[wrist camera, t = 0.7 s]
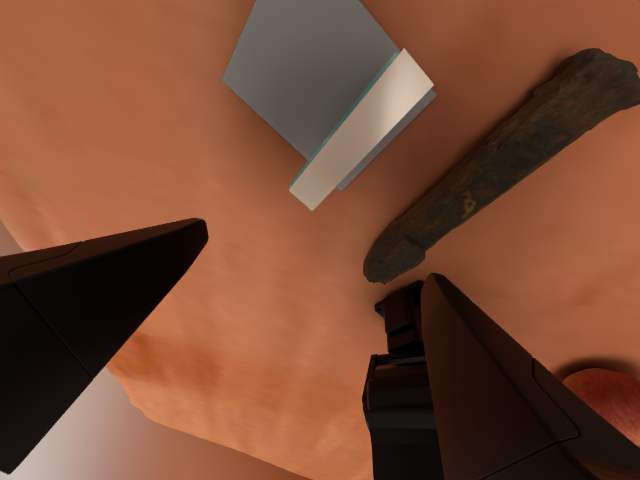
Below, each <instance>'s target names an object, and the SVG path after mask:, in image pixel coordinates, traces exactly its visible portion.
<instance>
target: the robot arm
mask: <svg viewBox="0 0 640 480" xmlns="http://www.w3.org/2000/svg"><path fill="white" fill-rule="evenodd" d="M207 242H208V231H207V225H206V222H205V221H204V220H203V219H198V218H190V219H186V220H181V221H176V222H171V223H167V224H162V225H157V226H152V227H147V228H143V229H138V230H133V231H128V232H124V233H119V234H114V235H109V236H104V237H100V238H95V239H90V240H85V241H84V242H82V241H80V242H76V243H71V244H66V245H61V246H56V247H51V248H46V249H41V250H35V251H30V252H24V253H19V254H13V255H8V256H2V257H0V471H1V472H3V473H6V474H11V473H12V472H13V471H14V470H15V469H16V468H17V467H18V466H19V465H20V464H21V462H22V461H23V460H24V459H25V458H26V457H27V456H28V454H29V453H30V452H31V451H32V450H33V449H34V448H35V446H36V445H37V444H38V443H39V442H40V441H41V439H42V438H43V437H44V436H45V435H46V434H47V433H48V431H49V430H50V429H51V428H52V426H54V424H55V423H56V422H57V421H58V420H59V419H60V418H61V416H62V415H63V414H64V413H65V412H66V410H67V409H68V408H69V407H70V406H71V405H72V404H73V403H74V401H75V400H76V399H77V398H78V397H79V396H80V394H81V393H82V392H83V391H84V390H85V388H86V387H87V386H88V385H89V384H90V383H91V382H92V381H93V378H95V377H96V376H97V374H98V373H99V372H100V371H101V370H102V369H103V368H104V366H105V365H106V364H107V363H108V362H109V361H110V360H111V358H112V357H113V356H114V355H115V354H116V353H117V351H118V350H119V349H120V348H121V347H122V346H123V345H124V343H125V342H126V341H127V340H128V339H129V338H130V336H131V335H132V334H133V333H134V332H135V331H136V330H137V328H138V327H139V326H140V325H141V324H142V323H143V321H144V320H145V319H146V318H147V317H148V316H149V315H150V313H151V312H152V311H153V310H154V309H155V308H156V306H157V305H158V304H159V303H160V302H161V301H162V300H163V298H164V297H165V296H166V295H167V294H168V293H169V292H170V290H171V289H172V288H173V287H174V286H175V285H176V283H177V282H178V281H179V280H180V279H181V278H182V277H183V275H184V274H185V273H186V272H187V270H188V269H189V268H190V266H191V265H192V264H193V262H194V261H195V259H196V258H197V256H198V255H199V254H200V252H201V251H202V249H203V248H204V246H205V245H206V244H207ZM375 311H376V312H377V313H378V314H380V315H381V316H382V317H383V318H385V332H386V333H387V345H388V353H389V354H382V355H377V354H374V355H371V359H370V363H369V367H368V372H367V377H366V382H365V387H364V391H363V396H362V402H363V412H364V415H365V419H366V423H367V426H368V429H369V431H370V435H371V443H372V457H373V477H374V480H640V448H639V447H638V446H637V445H636V444H634V443H633V442H632V441H631V440H630V439H628V438H627V437H626V436H625V435H624V434H622V433H621V432H620V431H619V430H618V429H616V428H615V427H614V426H613V425H612V424H610V423H609V422H608V421H607V420H606V419H604V418H603V417H602V416H601V415H600V414H598V413H597V412H596V411H595V410H594V409H592V408H591V407H590V406H589V405H588V404H586V403H585V402H584V401H583V400H582V399H581V398H579V397H578V396H577V395H576V394H575V393H573V392H572V391H571V390H570V389H569V388H568V387H566V386H565V385H564V384H563V383H562V382H561V381H560V380H559V379H557V378H556V377H555V376H554V375H553V374H552V373H551V372H550V371H548V370H547V369H546V368H545V367H544V366H543V365H542V364H541V363H540V362H539V361H537V360H536V359H535V358H532V355H531V354H530V353H529V352H527V351H526V350H525V349H524V348H523V347H522V346H521V345H520V344H519V343H518V342H516V341H515V340H514V339H513V338H512V337H511V336H510V335H509V334H508V333H507V332H505V331H504V330H503V329H502V328H501V327H500V326H499V325H498V324H497V323H495V322H494V321H493V320H492V319H491V318H490V317H489V316H488V315H487V314H486V313H484V312H483V311H482V310H481V309H480V308H479V307H478V306H477V305H476V304H475V303H473V302H472V301H471V300H470V299H469V298H468V297H467V296H466V295H465V294H464V293H462V292H461V291H460V290H459V289H458V288H457V287H456V286H455V285H454V284H453V283H451V282H450V281H449V280H448V279H447V278H446V277H445V276H444V275H441V274H437V273H430V274H429V276H428V278H427V280H426V281H425V283H424V282H423V281H418V282H416V283H414V284H412V285H410V286H408V287H407V288H405V289H403V290H401V291H399V292H398V293H396V294H394V295H392V296H390V297H389V298H387V299H385V300H383V301H381V302H380V303H378V304H376V305H375Z"/></svg>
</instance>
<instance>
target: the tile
mask: <svg viewBox="0 0 640 480" xmlns="http://www.w3.org/2000/svg"><path fill="white" fill-rule="evenodd" d="M433 85H434V84H433V83H432V82H431V80H430V79H429V78H428V77H427V75H426V74H425V73H424V72H423V70H422V69H421V68H420V67H419V66H418V64H417V63H416V62H415V61H414V59H413V58H412V57H411V56H410V54H409V53H408V52H407V51H406V50H405V48H404V49H403V50H402V51H401V52H400V54H398V53H397V52H395V53H394V54H393V55H392V57H391V58H390V59H389V60H388V62H387V63H386V64H385V65H384V67H383V68H382V69H381V70H380V72H379V73H378V74H377V75H376V77H375V78H374V79H373V80H372V82H371V83H370V84H369V85H368V87H367V88H366V89H365V90H364V92H363V93H362V94H361V95H360V97H359V98H358V99H357V100H356V102H355V103H354V104H353V105H352V107H351V108H350V109H349V110H348V112H347V113H346V114H345V115H344V117H343V118H342V119H341V120H340V122H339V123H338V124H337V125H336V126H335V128H334V129H333V130H332V131H331V133H330V134H329V135H328V136H327V138H326V139H325V140H324V141H323V143H322V144H321V145H320V146H319V148H318V149H317V150H316V151H315V153H314V154H313V155H312V156H311V158H310V159H309V160H308V161H307V163H306V164H305V165H304V166H303V168H302V169H301V170H300V171H299V173H298V174H297V175H296V176H295V178H294V179H293V180H292V181H291V183H290V185H291V187H290V189H289V190H288V191H290V192H291V193H292V194H293V195H294V196H295V197H297V198H298V199H299V200H300V201H301V202H302V203H304V204H305V205H306V206H307V207H308V208H309V209H310V210H312V211H313V210H314V209H315V208H316V207H317V206H318V205H319V204H320V203H321V202H322V201H323V200H324V199H325V198H326V196H327V195H328V194H329V193H330V192H331V191H332V190H333V189H334V188H335V187H336V186H337V185H338V184H339V183H340V182H341V181H342V180H343V179H344V178H345V177H346V176H347V175H348V174H349V173H350V172H351V171H352V170H353V168H354V167H355V166H356V165H357V164H358V163H359V162H360V161H361V160H362V159H363V158H364V157H365V156H366V155H367V154H368V153H369V152H370V151H371V150H372V149H373V148H374V147H375V146H376V145H377V144H378V143H379V141H380V140H381V139H382V138H383V137H384V136H385V135H386V134H387V133H388V132H389V131H390V130H391V129H392V128H393V127H394V126H395V125H396V124H397V123H398V122H399V121H400V120H401V119H402V118H403V117H404V116H405V115H406V113H407V112H408V111H409V110H410V109H411V108H412V107H413V106H414V105H415V104H416V103H417V102H418V101H419V100H420V99H421V98H422V97H423V96H424V95H425V94H426V93H427V92H428V91H429V90H430V89H431V88H432V87H433Z"/></svg>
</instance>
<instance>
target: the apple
mask: <svg viewBox="0 0 640 480" xmlns="http://www.w3.org/2000/svg"><path fill="white" fill-rule="evenodd" d="M562 383H563V384H564V385H565V386H566V387H568V388H569V389H570V390H571V391H572V392H573V393H575V394H576V395H577V396H578V397H579V398H581V399H582V400H583V401H584V402H585V403H586V404H588V405H589V406H590V407H591V408H592V409H594V410H595V411H596V412H597V413H598V414H600V415H601V416H602V417H603V418H604V419H606V420H607V421H608V422H609V423H610V424H612V425H613V426H614V427H615V428H616V429H618V430H619V431H620V432H621V433H622V434H624V435H625V436H626V437H627V438H628V439H630V440H631V441H632V442H633V443H634V444H636V445H637V446H638V447H639V448H640V381H639V380H637V379H634V378H632V377H630V376H627V375H625V374H622V373H618V372H614V371H610V370H605V369H601V368H589V369H584V370H581V371H578V372H576V373H573V374H571V375H569V376H567V377H566V378H565V379H564V380H563V382H562Z"/></svg>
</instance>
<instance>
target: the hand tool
mask: <svg viewBox="0 0 640 480" xmlns="http://www.w3.org/2000/svg"><path fill="white" fill-rule="evenodd" d="M637 72H638V71H637V68H636V67H635V66H634V64H633V63H632V62H629V61H625V60H621V59H618V58H616V57H614V56H613V55H611V54H608V53H604V52H603V51H601V50H600V49H596V48H591V49H586V50H582V51H580V52H578V53H576V54H575V55H573V56H570V57H567V58H566V59H565V60H564V61H563V62H562V63H561V64H560V66H559V68H558V71H557V74H556V76H555V77H554V78H553V79H552V80H550V81H548V82H546V83H545V84H543V85H541V86H540V87H538V88H537V89H536V90H534V91H533V93H532V98H531V99H530V100H529V101H528V102H527V103H526V104H525V105H524V106H523V107H522V108H521V109H520V110H519V111H518V112H516V113H515V114H514V115H513V116H512V117H511V118H509V119H508V120H507V121H505V122H504V123H503V124H501V125H500V126H499V127H498V128H497V129H496V130H495V131H494V132H493V133H492V134H490V136H489V137H488V138H487V139H486V141H485V142H484V143H483V144H482V145H481V146H480V147H478V148H477V149H476V150H475V151H474V152H473V153H472V154H471V155H470V156H468V157H467V158H466V159H465V160H462V161H461V162H459V163H458V165H457V167H456V168H455V169H454V170H453V171H452V172H451V173H449V174H448V175H447V176H446V177H445V178H444V179H443V180H442V181H441V182H440V183H439V184H438V185H437V186H435V187H434V188H433V189H432V190H431V191H430V192H429V193H428V194H427V195H425V196H424V197H423V198H422V199H421V200H420V201H419V202H418V203H417V204H416V205H414V206H413V207H412V208H411V209H410V210H409V211H408V212H407V213H406V214H405V215H403V216H402V217H400V218H395V219H394V220H393V221H392V222H391V223H390V224H389V225H388V227H387V228H386V229H385V230H384V231H383V232H382V234H381V235H380V236H379V238H378V239H377V241H376V242H375V244H374V245H373V247H372V248H371V250H370V251H369V253H368V255H367V257H366V258H365V261H364V265H363V273H364V276H366V278H367V280H368V281H369V282H373V283H376V282H380V283H383V284H386V283H387V282H389V281H391V280H393V279H394V278H396V277H397V276H399V275H400V274H402V273H404V272H406V271H408V270H410V269H412V268H414V267H416V266H417V265H419V264H420V263H421V262H422V261H423V260H424V259H425V251H426V250H427V249H429V248H430V247H432V246H433V245H434V244H435V243H436V242H437V241H439V240H440V239H441V238H442V237H444V236H445V235H446V234H447V233H449V232H450V231H451V230H452V229H454V228H456V227H458V226H459V225H461V224H462V223H464V222H465V221H466V220H468V219H469V218H470V217H472V216H473V215H475V214H476V213H477V212H478V211H480V210H481V209H483V208H484V207H486V206H487V205H489V204H490V203H491V202H493V201H494V200H495V199H497V198H498V197H499V196H501V195H502V194H504V193H505V192H506V191H508V190H509V189H510V188H512V187H513V186H514V185H515V184H517V183H518V182H520V181H521V180H522V179H524V178H525V177H527V176H528V175H529V174H531V173H532V172H533V171H535V170H536V169H537V168H539V167H540V166H542V165H543V164H544V163H546V162H547V161H549V160H550V159H551V158H552V157H553V156H555V155H556V154H557V153H558V152H560V151H561V150H562V149H564V148H565V147H566V146H568V145H569V144H571V143H572V142H574V141H575V140H577V139H578V138H579V137H580V136H581V135H583V134H584V133H585V132H587V131H588V130H591V129H592V128H594V127H595V126H596V125H597V124H598V123H600V122H601V121H603V120H605V119H606V118H608V117H609V116H611V115H613V114H614V113H616V112H618V111H620V110H625V109H629V108H631V107H634V106H636V105H639V104H640V79H639V76H638V75H637Z"/></svg>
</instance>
